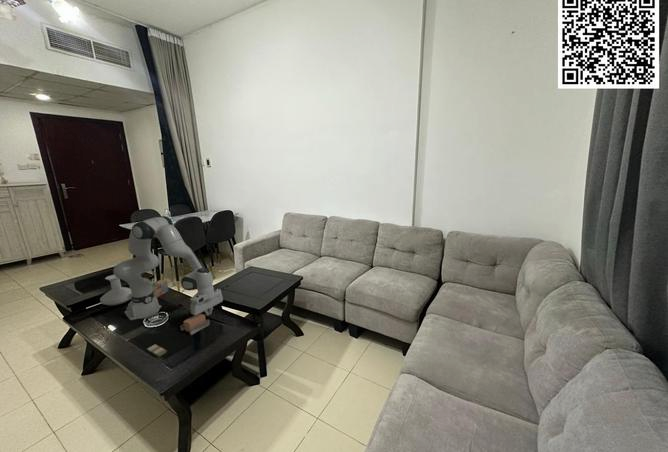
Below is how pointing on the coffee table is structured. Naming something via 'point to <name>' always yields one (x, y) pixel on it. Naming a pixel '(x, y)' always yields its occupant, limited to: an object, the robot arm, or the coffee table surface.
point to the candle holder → (116, 292)
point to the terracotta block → (194, 321)
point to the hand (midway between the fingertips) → (208, 314)
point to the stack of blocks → (159, 287)
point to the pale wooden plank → (160, 351)
